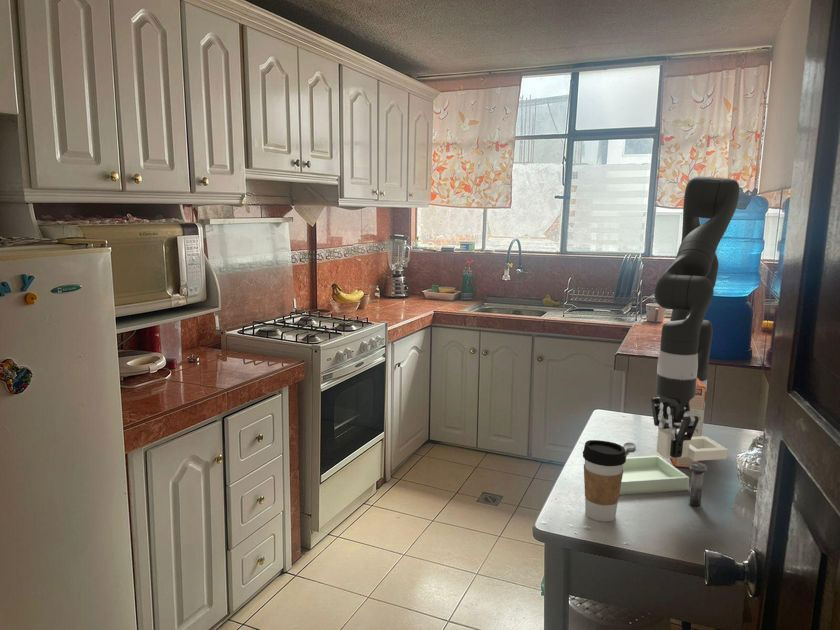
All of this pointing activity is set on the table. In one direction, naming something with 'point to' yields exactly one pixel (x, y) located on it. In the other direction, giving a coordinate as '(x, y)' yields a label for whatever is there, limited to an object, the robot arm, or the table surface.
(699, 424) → the cracker box
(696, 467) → the grey bolt
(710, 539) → the table surface
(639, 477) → the tray
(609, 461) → the coffee cup
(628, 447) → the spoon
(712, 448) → the cream stepped holder
